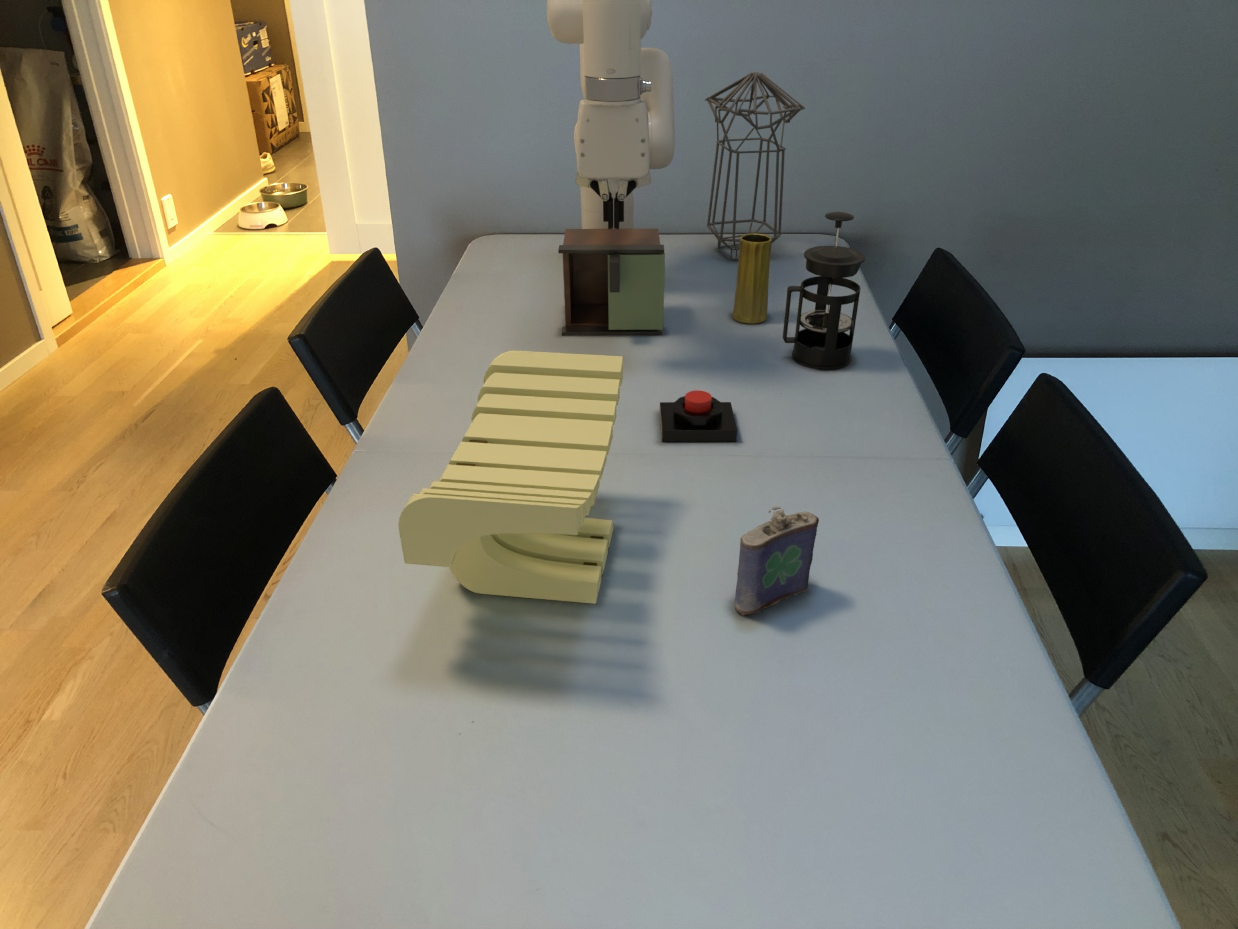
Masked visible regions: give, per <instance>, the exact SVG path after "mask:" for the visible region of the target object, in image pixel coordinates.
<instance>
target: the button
mask: <svg viewBox="0 0 1238 929" xmlns="http://www.w3.org/2000/svg"><path fill="white" fill-rule="evenodd" d="M684 396H685V409H686V410H687V411H690V412H694V413H704V412H708V411H710V410H711V402H712V397H713V396H712V394H710V393H709V392H708V391H705V390H690V391H688V392H687V393H686V394H685V395H684Z"/></svg>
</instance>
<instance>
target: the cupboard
mask: <svg viewBox="0 0 1238 929" xmlns="http://www.w3.org/2000/svg"><path fill="white" fill-rule="evenodd" d="M563 236H564V237H563V241H562V244H559V245H558V249H557V250H558V251H557V252H558V254H562V271H563V272H562V273H563V294H564V295H563V296H564V322H565V325H563V326H562V328H561V336H663V330H609V315H608V253H665V245H664V244H661V240H660V231H659V228H633V229H582V228H565V231H564V235H563Z"/></svg>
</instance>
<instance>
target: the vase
mask: <svg viewBox="0 0 1238 929" xmlns="http://www.w3.org/2000/svg"><path fill="white" fill-rule="evenodd" d="M741 235H742V236H741V237H739V239H740V242H739V244H740V245H739V248H740V250H738V251H739V252H738V258H739V260H737V261H738V262H737V263H738V264H737V274H736V285H735V292H734V293H735V294H734V301H733V311H732V315H731V316H732V318H733V320H734V321H736V322H738V323H742V324H748V325H756V324H761V323H763V322H765V321H767V319H768V306H769V286H770V285H769V284H770V267H771V266H770V265H771V257H772V256H771V255H772V254H771V253H772V244H773V243H772V239H771V236H770V235H767V234H765V233H759V232H757V233H755V232H754V233H753V232H752V233H751V232H750V234H748V233H745V234H741Z"/></svg>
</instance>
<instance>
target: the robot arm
mask: <svg viewBox="0 0 1238 929" xmlns="http://www.w3.org/2000/svg"><path fill="white" fill-rule="evenodd" d="M652 17H653V9H652V0H546V18H547V25H548V28H549V31H550V33H551V35H552V37H553V38H554V40H556V41H557V42H559V43H562V44H566V45H579V68H580V70H579V71H580V72H579V74H580V86H581V87H580V88H581V93H582V97H583V99H580V100H579V105H578V112H577V121H576V123H575V126H574V129H573V143H574V150H575V154H576V168H577V169H576V170H577V172H576V177H575V185H577V186H579V190H580V191H579V192H580V214H581V216H580V217H581V229H634V194H633V191H634V190H635V189H637V188H642V187H647V186H649V185H651V183H652V176H651V172H650V170H660V169H664V168H667V167H668V166H669V165H670V164H671V163H672V161H673V159H674V155H675V148H676V147H675V146H676V136H675V134H676V133H675V102H674V78H673V68H672V64H671V60H670V58H669V56H668V54H667V53H666V52H665V51H663V49H659V48H655V47H642V46H641V45H642V44H641V42H642V39H643V38H644V37H645V36H646V34H647V32H648V31H649V30H650V28H651V25H652Z"/></svg>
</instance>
